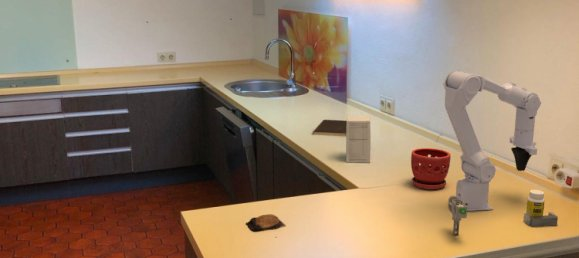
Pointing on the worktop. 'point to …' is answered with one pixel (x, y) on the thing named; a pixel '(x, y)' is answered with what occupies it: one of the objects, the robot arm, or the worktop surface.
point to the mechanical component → (457, 212)
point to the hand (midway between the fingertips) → (520, 170)
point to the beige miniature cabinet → (358, 139)
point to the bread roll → (264, 223)
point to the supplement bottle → (535, 203)
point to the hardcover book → (331, 128)
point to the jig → (541, 220)
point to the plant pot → (430, 167)
